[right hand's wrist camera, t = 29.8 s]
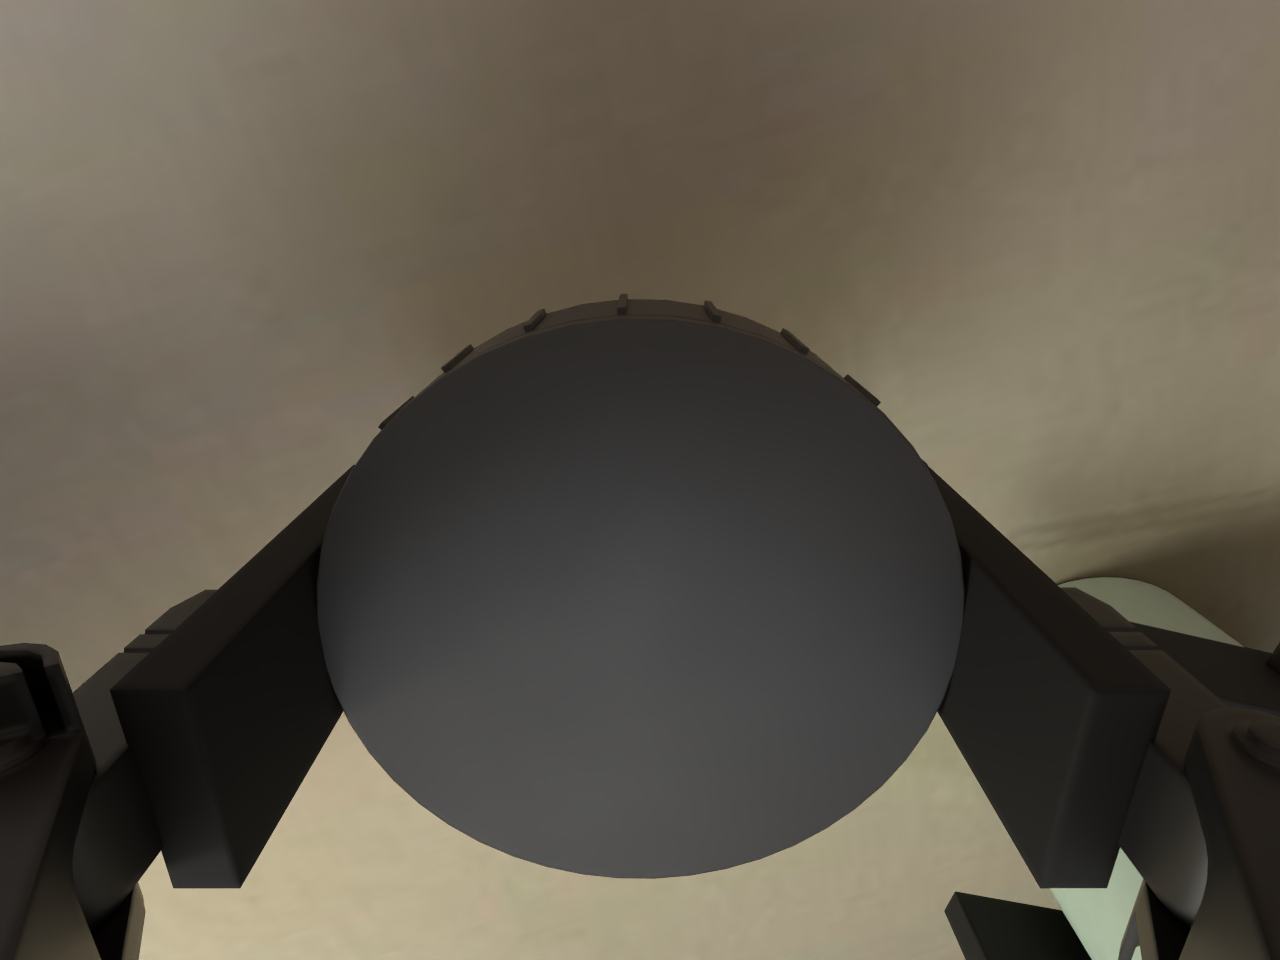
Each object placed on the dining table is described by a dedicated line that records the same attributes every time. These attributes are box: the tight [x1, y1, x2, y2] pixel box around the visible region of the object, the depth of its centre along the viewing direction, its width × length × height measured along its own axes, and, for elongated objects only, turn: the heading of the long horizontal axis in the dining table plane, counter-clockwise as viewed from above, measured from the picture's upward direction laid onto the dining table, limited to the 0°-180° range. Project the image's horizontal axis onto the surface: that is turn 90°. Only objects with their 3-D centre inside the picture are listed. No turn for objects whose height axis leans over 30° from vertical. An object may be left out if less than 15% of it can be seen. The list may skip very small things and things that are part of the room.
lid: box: [316, 294, 965, 878], centre depth 11 cm, size 9×9×2 cm
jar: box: [1049, 577, 1244, 960], centre depth 16 cm, size 8×8×15 cm
